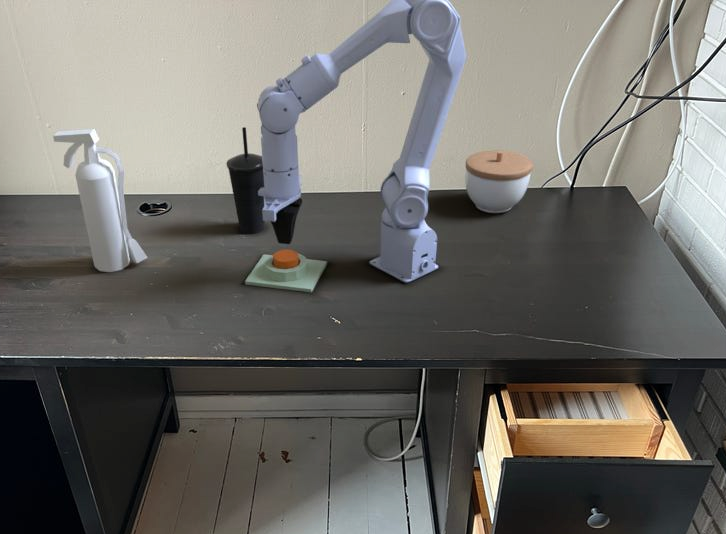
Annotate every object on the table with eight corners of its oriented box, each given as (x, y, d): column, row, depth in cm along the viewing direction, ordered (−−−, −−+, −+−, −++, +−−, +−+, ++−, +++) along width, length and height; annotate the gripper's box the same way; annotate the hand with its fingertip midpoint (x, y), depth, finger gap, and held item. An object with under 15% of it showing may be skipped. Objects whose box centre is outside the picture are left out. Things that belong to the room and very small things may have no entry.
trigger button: (301, 259, 129) (301, 250, 128) (294, 271, 126) (294, 262, 125) (278, 256, 130) (277, 248, 129) (270, 268, 127) (269, 260, 126)
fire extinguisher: (141, 276, 131) (115, 138, 117) (79, 271, 134) (46, 136, 119) (154, 258, 137) (131, 124, 122) (94, 253, 139) (65, 122, 124)
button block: (326, 264, 132) (326, 252, 130) (311, 292, 124) (311, 279, 122) (263, 257, 135) (262, 245, 133) (245, 284, 127) (243, 272, 126)
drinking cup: (273, 220, 147) (267, 120, 135) (269, 237, 141) (262, 134, 129) (236, 220, 148) (226, 121, 136) (230, 237, 142) (219, 135, 130)
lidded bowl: (537, 213, 144) (547, 159, 137) (478, 222, 142) (484, 168, 135) (507, 189, 154) (515, 137, 147) (451, 197, 152) (456, 145, 145)
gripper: (271, 147, 124) (276, 221, 132) (241, 181, 113) (248, 259, 121) (311, 150, 122) (313, 225, 130) (285, 184, 111) (289, 264, 119)
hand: (285, 242), depth 126 cm, fingers closed
